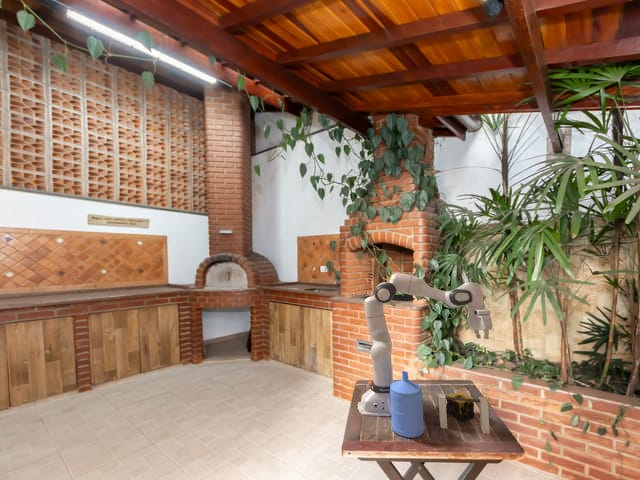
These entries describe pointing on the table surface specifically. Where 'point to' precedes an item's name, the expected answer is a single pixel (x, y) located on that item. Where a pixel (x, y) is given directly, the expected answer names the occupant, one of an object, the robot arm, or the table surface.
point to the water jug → (406, 407)
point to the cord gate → (482, 400)
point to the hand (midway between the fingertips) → (482, 338)
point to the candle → (460, 407)
